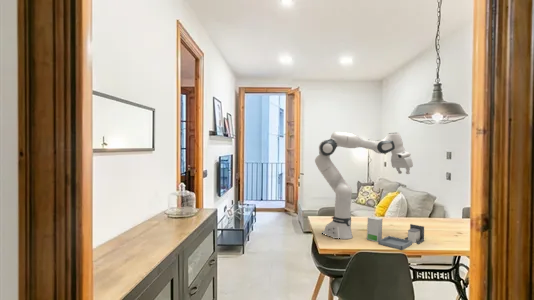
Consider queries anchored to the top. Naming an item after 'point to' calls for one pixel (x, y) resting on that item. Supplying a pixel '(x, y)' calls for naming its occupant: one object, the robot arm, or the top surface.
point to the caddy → (414, 235)
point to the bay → (420, 232)
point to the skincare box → (374, 229)
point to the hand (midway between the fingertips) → (404, 173)
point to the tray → (395, 242)
